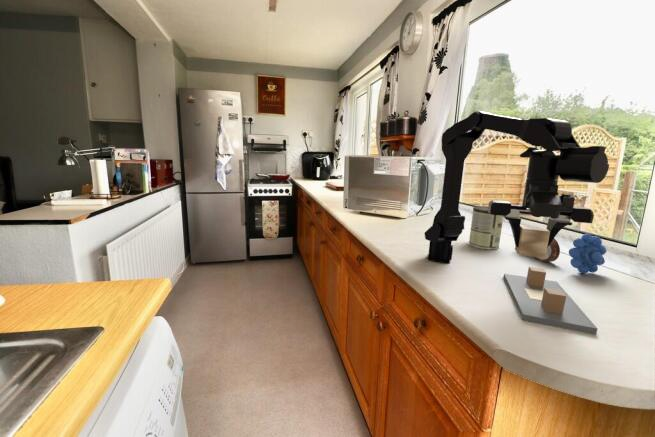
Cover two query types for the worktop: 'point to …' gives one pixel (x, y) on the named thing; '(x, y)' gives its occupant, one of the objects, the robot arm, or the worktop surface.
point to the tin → (551, 252)
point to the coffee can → (485, 229)
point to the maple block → (533, 241)
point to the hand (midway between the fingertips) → (530, 248)
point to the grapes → (587, 253)
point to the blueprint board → (547, 317)
